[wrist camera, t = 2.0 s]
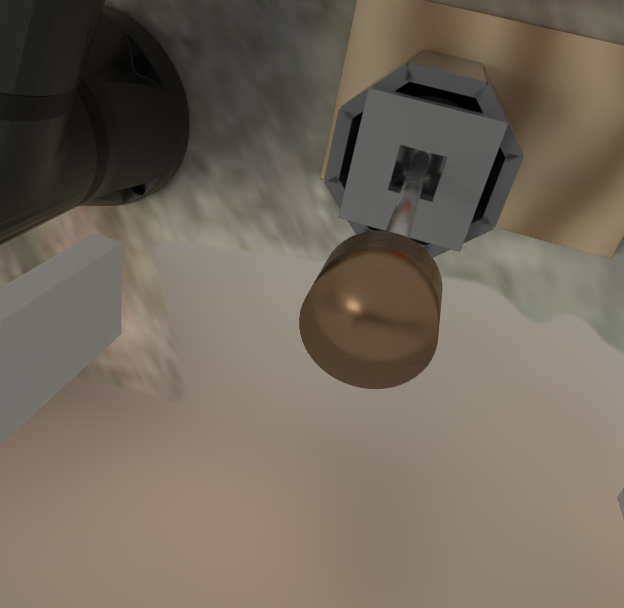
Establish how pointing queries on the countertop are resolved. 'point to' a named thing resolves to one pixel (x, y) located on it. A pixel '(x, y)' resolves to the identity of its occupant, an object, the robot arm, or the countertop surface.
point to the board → (520, 109)
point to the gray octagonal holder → (431, 138)
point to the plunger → (380, 291)
